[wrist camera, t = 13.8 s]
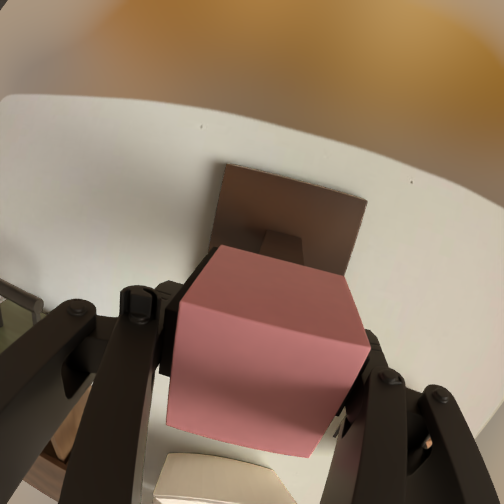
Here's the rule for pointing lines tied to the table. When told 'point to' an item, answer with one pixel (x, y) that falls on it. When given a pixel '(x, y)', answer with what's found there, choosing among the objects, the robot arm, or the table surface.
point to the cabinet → (47, 475)
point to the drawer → (15, 325)
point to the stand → (287, 219)
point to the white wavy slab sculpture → (217, 482)
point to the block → (264, 353)
